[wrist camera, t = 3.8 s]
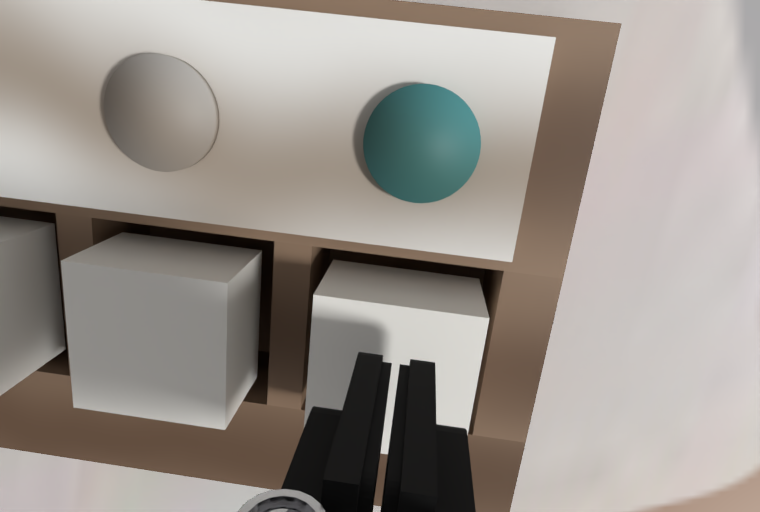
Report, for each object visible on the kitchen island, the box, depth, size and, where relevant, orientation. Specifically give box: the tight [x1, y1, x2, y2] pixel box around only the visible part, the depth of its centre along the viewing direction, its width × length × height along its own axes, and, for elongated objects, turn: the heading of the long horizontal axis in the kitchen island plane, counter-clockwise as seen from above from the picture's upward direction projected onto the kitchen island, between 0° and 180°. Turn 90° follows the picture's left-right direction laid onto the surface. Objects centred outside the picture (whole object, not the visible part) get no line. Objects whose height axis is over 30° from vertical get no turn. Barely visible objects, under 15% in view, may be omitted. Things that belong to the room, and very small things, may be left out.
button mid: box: [61, 232, 262, 430], centre depth 14 cm, size 4×4×3 cm
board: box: [0, 0, 621, 512], centre depth 16 cm, size 14×20×5 cm
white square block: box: [304, 260, 490, 454], centre depth 14 cm, size 4×4×3 cm
